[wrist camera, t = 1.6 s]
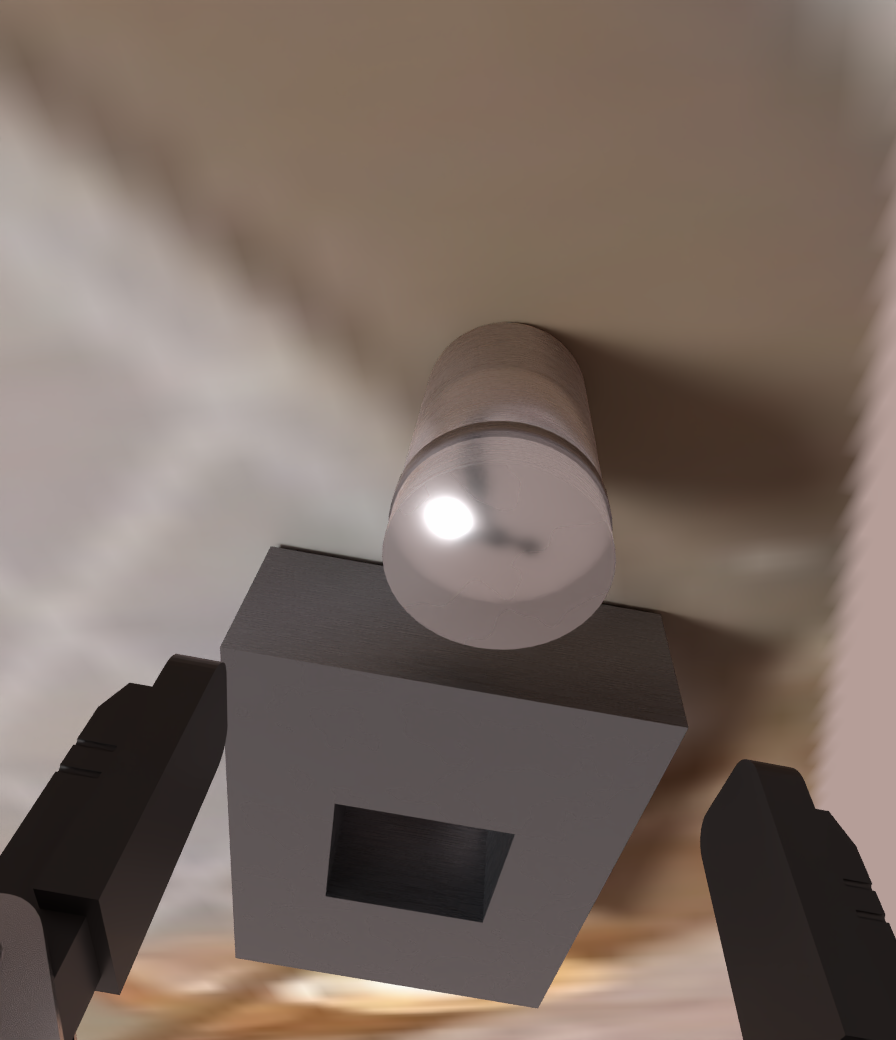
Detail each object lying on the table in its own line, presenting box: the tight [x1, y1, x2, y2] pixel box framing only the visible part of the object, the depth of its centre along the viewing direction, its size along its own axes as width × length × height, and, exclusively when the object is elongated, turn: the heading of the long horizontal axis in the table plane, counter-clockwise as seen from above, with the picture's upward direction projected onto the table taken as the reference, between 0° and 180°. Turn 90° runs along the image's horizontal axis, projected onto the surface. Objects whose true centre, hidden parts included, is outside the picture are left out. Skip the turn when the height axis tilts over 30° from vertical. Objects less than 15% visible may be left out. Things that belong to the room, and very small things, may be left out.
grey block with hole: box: [220, 547, 688, 1008], centre depth 28 cm, size 20×14×5 cm
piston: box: [382, 323, 616, 650], centre depth 17 cm, size 5×5×8 cm
